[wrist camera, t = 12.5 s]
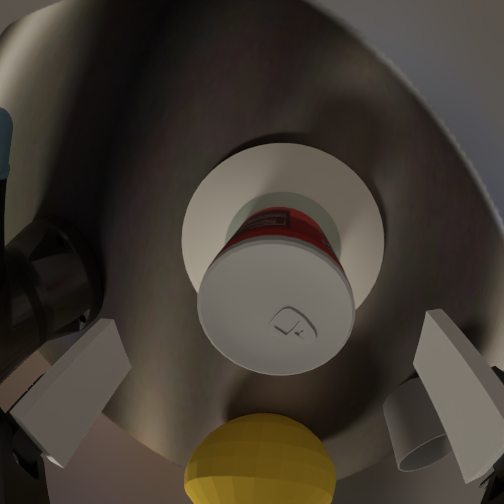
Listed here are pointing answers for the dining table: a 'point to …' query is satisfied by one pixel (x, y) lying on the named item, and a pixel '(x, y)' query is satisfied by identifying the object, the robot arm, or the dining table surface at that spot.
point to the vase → (260, 464)
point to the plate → (291, 196)
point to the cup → (415, 427)
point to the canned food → (277, 295)
